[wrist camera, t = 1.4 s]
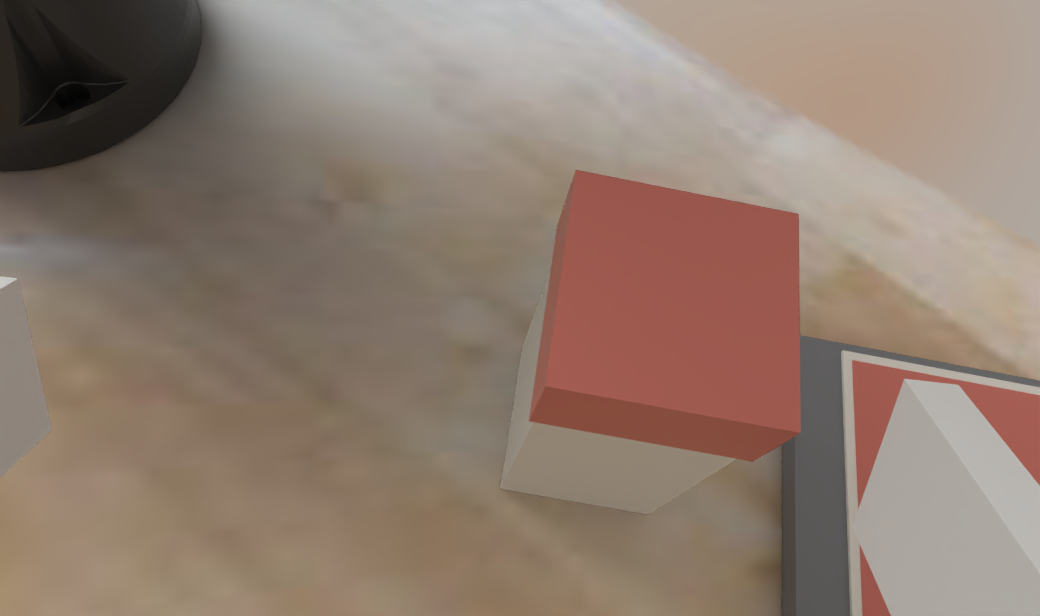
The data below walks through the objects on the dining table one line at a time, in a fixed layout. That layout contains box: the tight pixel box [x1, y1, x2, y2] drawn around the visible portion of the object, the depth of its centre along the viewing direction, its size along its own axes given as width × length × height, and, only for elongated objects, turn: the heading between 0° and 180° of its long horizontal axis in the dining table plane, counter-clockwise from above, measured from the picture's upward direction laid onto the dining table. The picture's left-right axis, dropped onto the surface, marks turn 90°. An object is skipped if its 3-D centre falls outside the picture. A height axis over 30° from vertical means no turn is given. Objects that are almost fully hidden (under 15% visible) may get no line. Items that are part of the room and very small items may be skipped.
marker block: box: [500, 170, 801, 515], centre depth 26 cm, size 6×6×13 cm
